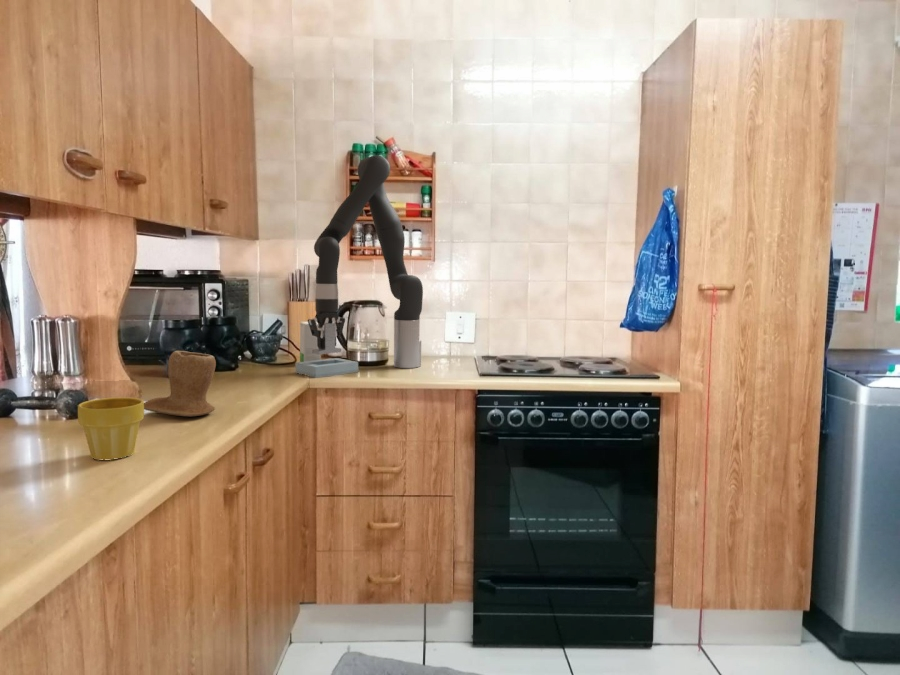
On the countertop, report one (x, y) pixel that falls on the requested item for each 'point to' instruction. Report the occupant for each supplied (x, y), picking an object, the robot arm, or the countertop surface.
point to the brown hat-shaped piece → (186, 385)
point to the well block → (326, 367)
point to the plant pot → (111, 425)
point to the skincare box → (307, 343)
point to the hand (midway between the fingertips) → (327, 348)
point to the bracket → (328, 341)
